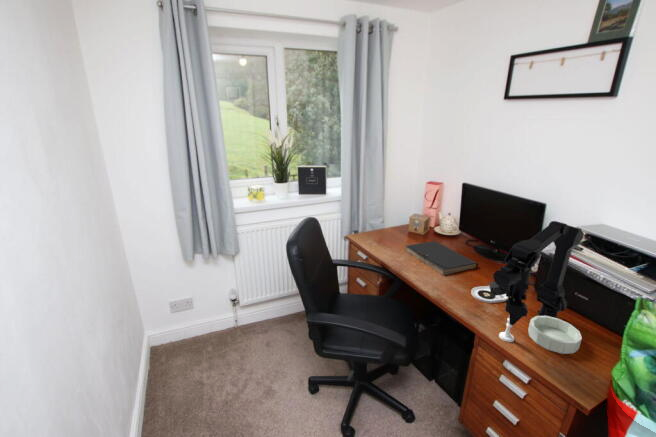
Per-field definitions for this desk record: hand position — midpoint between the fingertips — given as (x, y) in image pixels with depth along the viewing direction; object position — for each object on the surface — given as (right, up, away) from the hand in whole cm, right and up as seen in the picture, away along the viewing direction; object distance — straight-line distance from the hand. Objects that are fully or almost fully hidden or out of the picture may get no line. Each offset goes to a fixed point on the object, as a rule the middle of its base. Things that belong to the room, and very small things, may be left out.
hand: (511, 317), depth 112 cm
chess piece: (0, -9, +3) cm, 9 cm away
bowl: (+16, -9, +2) cm, 19 cm away
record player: (+10, 0, +30) cm, 32 cm away
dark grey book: (-2, +12, +66) cm, 67 cm away
